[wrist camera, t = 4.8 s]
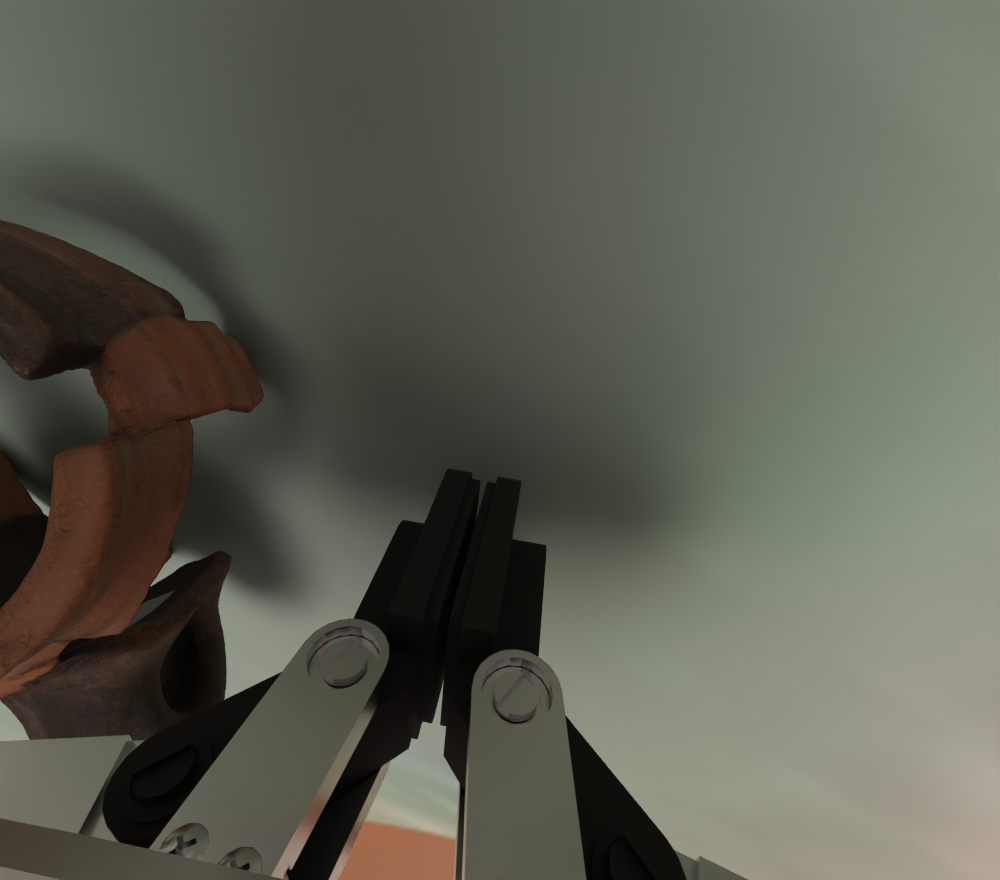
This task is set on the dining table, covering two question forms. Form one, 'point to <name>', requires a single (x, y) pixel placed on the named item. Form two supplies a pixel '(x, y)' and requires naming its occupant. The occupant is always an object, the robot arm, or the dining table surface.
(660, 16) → the dining table surface
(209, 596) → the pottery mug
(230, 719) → the robot arm
